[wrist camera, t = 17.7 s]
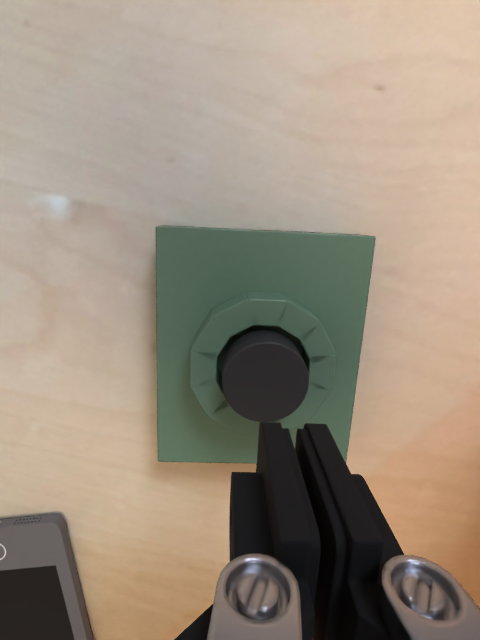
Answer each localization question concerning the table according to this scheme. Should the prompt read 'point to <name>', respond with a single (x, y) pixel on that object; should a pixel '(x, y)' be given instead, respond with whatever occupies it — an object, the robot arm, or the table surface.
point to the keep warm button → (264, 376)
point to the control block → (253, 315)
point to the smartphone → (39, 582)
